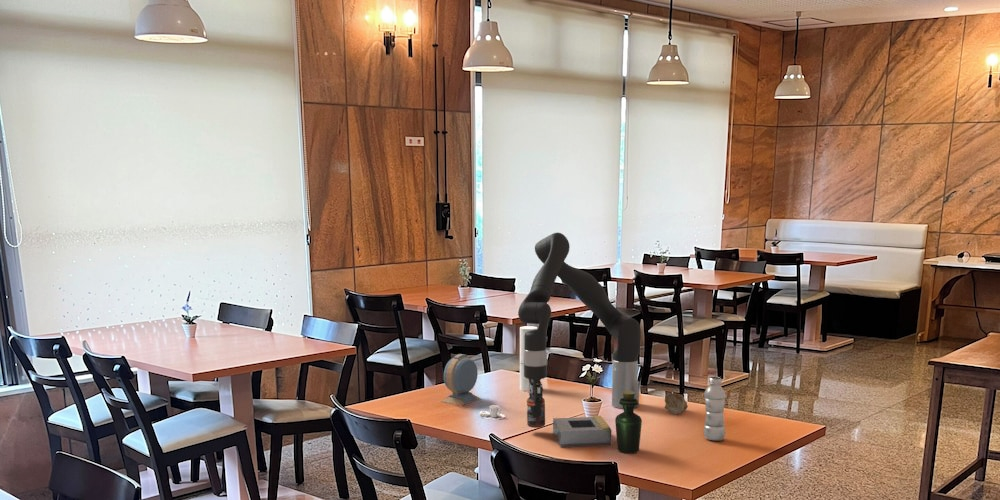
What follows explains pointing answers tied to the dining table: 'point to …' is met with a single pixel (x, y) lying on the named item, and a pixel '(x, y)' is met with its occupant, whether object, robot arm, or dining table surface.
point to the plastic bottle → (714, 410)
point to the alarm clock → (460, 380)
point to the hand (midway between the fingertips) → (535, 413)
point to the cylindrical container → (523, 381)
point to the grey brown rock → (675, 403)
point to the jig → (582, 431)
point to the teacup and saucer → (492, 412)
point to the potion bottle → (628, 425)
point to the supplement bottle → (531, 419)
